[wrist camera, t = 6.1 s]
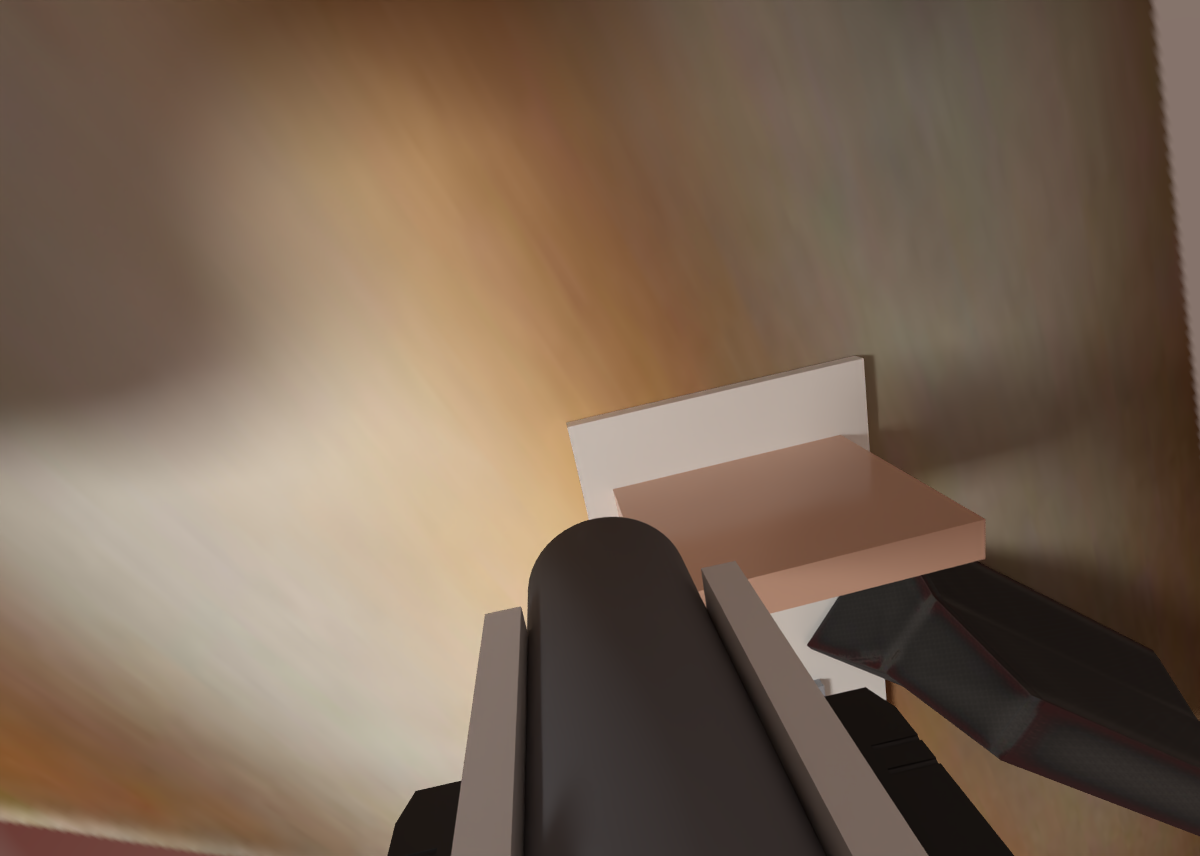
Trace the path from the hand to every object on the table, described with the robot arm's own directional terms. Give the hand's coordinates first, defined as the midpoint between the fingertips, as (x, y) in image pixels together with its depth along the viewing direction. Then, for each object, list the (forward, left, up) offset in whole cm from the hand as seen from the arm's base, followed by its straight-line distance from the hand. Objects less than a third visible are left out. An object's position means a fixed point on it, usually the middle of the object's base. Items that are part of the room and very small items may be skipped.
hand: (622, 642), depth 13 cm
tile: (+7, -5, -16) cm, 19 cm away
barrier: (+22, -20, -17) cm, 34 cm away
